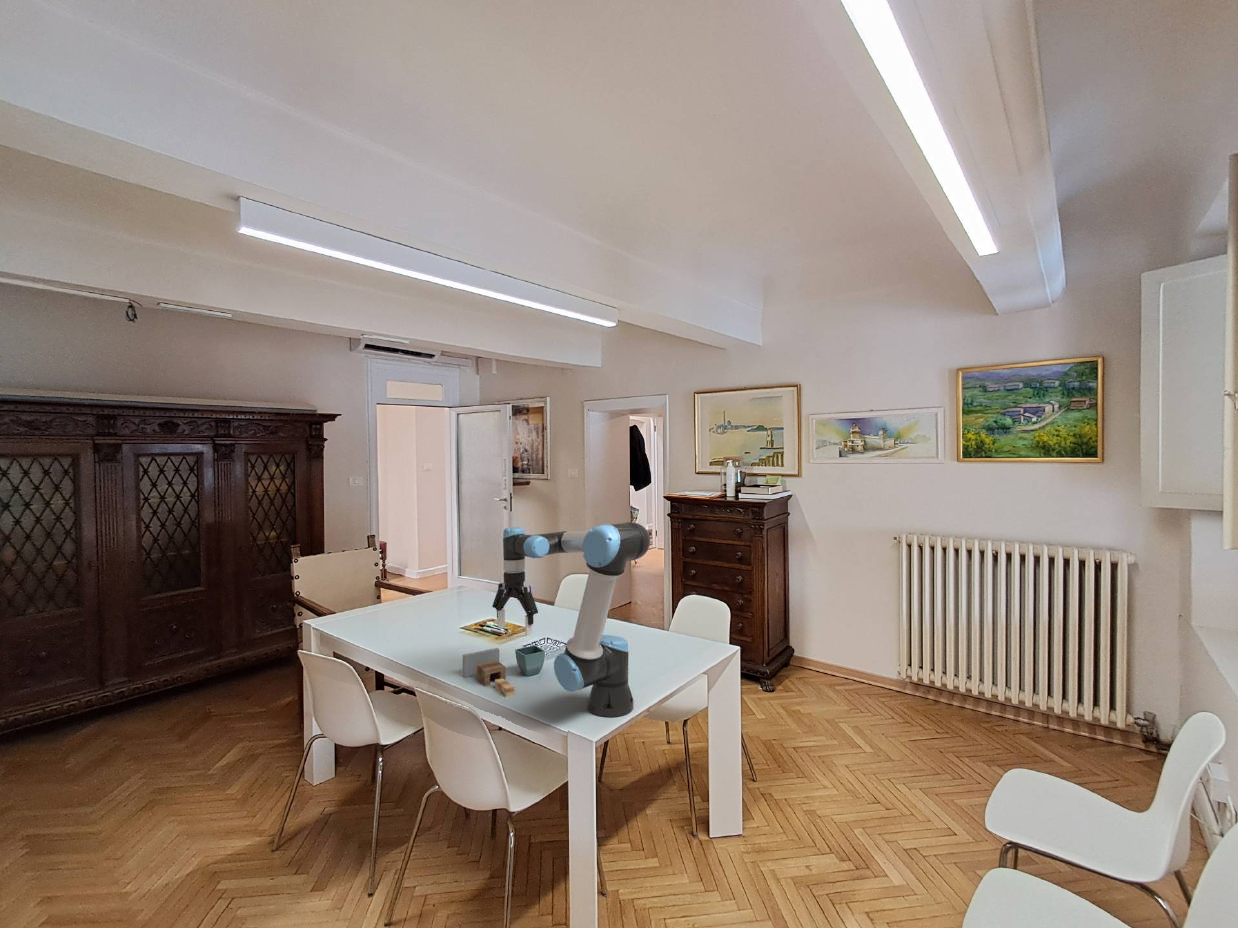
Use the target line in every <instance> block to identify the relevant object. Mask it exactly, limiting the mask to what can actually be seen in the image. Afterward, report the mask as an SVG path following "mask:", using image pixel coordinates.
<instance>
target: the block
mask: <svg viewBox="0 0 1238 928" xmlns="http://www.w3.org/2000/svg"><path fill="white" fill-rule="evenodd" d="M506 674H507V673H506V665H504V664H503V663H501V662H500V661H499V662H498V661H497V660H496V661H492V662H487V663H482V664H478V665H477V675H476V680H477V681H478V682H479V683H480V684H481V685H483V687H487V686H490V685H491V679H493V678H495V679H494V680H497V679H501V678H503V679H504V680H506ZM506 681H507V680H506Z"/></svg>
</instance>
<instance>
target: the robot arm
mask: <svg viewBox="0 0 1238 928" xmlns="http://www.w3.org/2000/svg"><path fill="white" fill-rule="evenodd" d="M525 532H526V531H525V528H524V527H522V526H521V527H520V526H518V527H517V526H512V527H511V526H509V527H506V528H504V529H503V535H502V548H503V549H502V552H503V553H502V554H503V555H502V556H503V557H502V558H503V561H502V562H503V565H502V566H503V568H502V569H503V571H504V572H503V582H500V583H498V585H497V586H498V587H497V592H496V594H495V597H494V600H493V603H492V606H491V607H492V608H493V609H495V610H496V619H497V630H501V629H504V628H505V627H506V617H505V616H506V610H505V606H506V604H507V603H508V601H509V600H510V598H513V599H517V601H518V602H519V603H520V605H521V607H522V609H523V611H525V614H526V615H525V617H524V625H525V626H524V630H525V631H524V632H525V633H524V634H525V635H526V636H528V635H531V634H533V625H534V616H535V615H537V614H538V613H539V609H538V606H537V604H536V602H535V599H534V596H533V593H532V587H531V586H530V585H526V586H525V585H524V583H525V582H526V572H525V570H526V569H525V568H526V566H525V565H526V562H525V561H526V558H531V559H542V558H544V557H546V556H550V555H554V554H556V555H557V554H569V553H571V554H572V553H573V554H574V553H576V554H579V553H581V554H582V553H583V554H582V556H583V558H584V561H585V562H586V563H585V566H586V568H588V571H589V572H588V576H587V580H586V584H585V587H584V592H583V596H582V599H581V604H580V608H579V612H578V616H577V620H576V625H575V629H574V632H573V636H572V637H571V638H569V639H568V640H567V642H566V643H565V648H564V652H563V653H559V654H558V655H557V656H556V657H555V658H554V662H553V671H554V676H555V677H556V680H557V681H558V683H559V685H560V686H561V687H562V688H563V689H564V690H566V691H568V692H571V693H572V692H577V691H581V690H583V689H585V688H588V687H590V686H591V689H590V692H589V696H588V699H587V710H588V711H589V712H590V713H591V714H593V715H595V716H599V717H604V718H614V717H615V718H617V717H621V716H625V715H627V714H630V713H631V712H632V711H633V710H634V709H635V708H634V697H633V694H632V691H631V688H630V685H629V653H630V651H629V646H628V645H629V643H628V641H627V639H625V638H624V637H621V636H619V635H618V636H617V635H611V634H610V635H609V634H604V630H605V626H606V622H607V618H608V615H609V612H610V607H611V603H612V600H613V599H612V598H613V595H614V591H615V587H616V584H617V580H618V578H619V577H621V576H623V575H624V573H625V569H626V565H627V562H631V561H632V562H633V561H636V560H638V559H641V558H642V557H644V556H645V554H647V552H648V550H649V549H650V545H651V536H650V534H649V532H648V530H647V529H646V527H644V525H642V524H640V523H637V522H632V521H631V522H630V521H629V522H621V523H613V524H611V523H610V524H609V523H607V524H606V523H605V524H601V525H598V526H594V527H592V528H591V529H588V530H573V531H572V530H564V531H555V532H548V533H547V532H546V533H539V534H538V533H537V534H526V533H525Z"/></svg>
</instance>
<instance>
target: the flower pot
mask: <svg viewBox="0 0 1238 928" xmlns="http://www.w3.org/2000/svg"><path fill="white" fill-rule="evenodd" d="M514 654H515V660H516V664H517V667H518V669H519V671H520V672H521V673H522V675H524V676H526V677H530V676H534V675H537V674H538V675H539V673H540V672H541V671H542V669H543V666H544V663H545V656H546V655H545V654H546V650H544V649H543V648H541V647H539V646H537V645H529V646H525V647H524V646H523V647H520V648H516V649H514Z"/></svg>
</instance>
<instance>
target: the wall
mask: <svg viewBox="0 0 1238 928" xmlns="http://www.w3.org/2000/svg"><path fill="white" fill-rule="evenodd" d="M496 660H497V661H498V662H500V648H498V647H494V648H490V649H485V650H481V651H475V652H469V653H465V654H462V677H463V678H469V677H473V676H477V665H478V664H482V663H487V662H492V661H496Z"/></svg>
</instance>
